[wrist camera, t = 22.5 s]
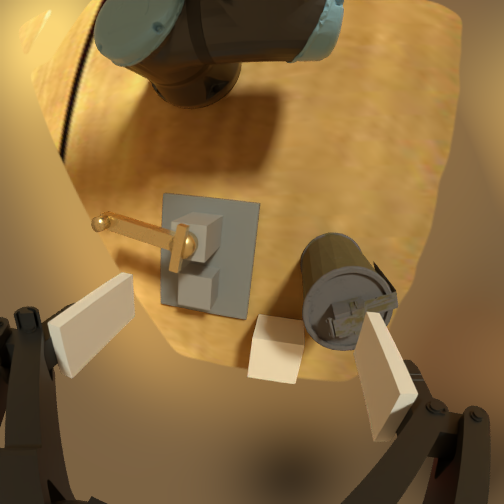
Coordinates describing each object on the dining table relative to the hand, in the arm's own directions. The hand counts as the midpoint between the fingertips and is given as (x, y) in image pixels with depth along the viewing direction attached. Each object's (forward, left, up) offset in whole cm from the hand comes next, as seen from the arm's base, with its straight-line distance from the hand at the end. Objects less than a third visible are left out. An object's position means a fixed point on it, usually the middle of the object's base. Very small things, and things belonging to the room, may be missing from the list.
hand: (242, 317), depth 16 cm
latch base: (+8, -11, -33) cm, 35 cm away
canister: (+6, +10, -33) cm, 35 cm away
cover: (+21, +3, -33) cm, 39 cm away
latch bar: (+2, -17, -22) cm, 28 cm away
